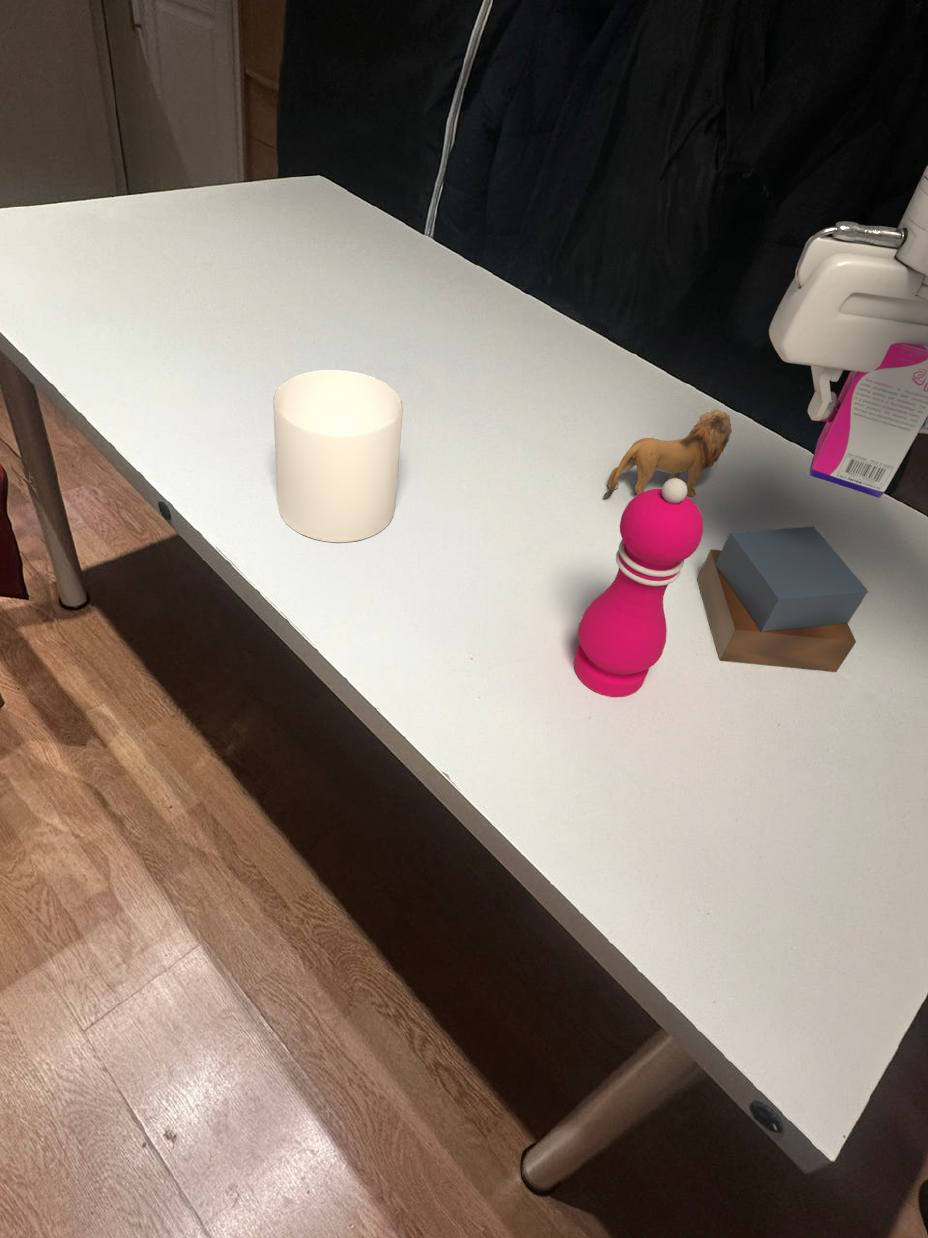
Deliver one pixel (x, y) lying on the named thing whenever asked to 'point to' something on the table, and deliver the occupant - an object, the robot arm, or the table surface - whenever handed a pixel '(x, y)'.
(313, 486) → the cup
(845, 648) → the base block
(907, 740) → the table surface
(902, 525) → the table surface
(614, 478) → the lion figurine
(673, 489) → the pepper mill
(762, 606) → the top block
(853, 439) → the supplement box
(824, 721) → the table surface
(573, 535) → the table surface
